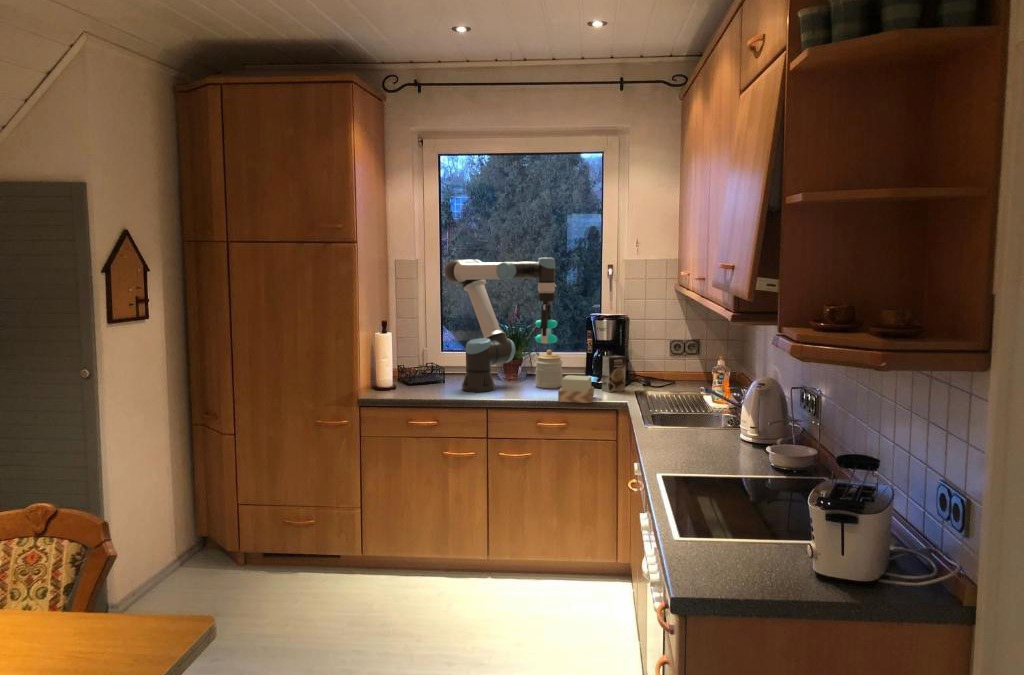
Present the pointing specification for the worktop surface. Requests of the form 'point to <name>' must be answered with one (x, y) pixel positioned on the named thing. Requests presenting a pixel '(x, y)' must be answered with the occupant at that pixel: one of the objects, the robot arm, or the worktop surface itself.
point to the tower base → (576, 396)
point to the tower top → (576, 383)
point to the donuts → (550, 325)
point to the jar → (549, 370)
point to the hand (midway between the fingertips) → (546, 341)
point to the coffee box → (613, 373)
